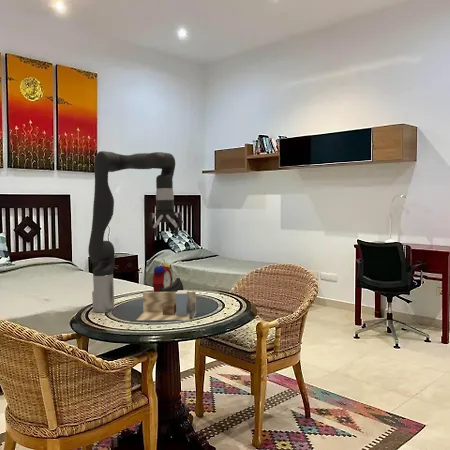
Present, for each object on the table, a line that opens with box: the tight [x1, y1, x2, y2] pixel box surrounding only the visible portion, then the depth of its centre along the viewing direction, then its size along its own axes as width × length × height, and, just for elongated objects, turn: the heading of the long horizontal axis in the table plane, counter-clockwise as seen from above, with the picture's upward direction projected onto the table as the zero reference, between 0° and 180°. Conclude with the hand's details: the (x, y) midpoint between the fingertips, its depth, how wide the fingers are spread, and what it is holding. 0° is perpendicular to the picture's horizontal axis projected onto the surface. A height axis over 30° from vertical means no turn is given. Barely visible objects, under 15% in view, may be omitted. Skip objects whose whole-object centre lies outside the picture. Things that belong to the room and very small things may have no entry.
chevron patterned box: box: [135, 291, 197, 323], centre depth 197 cm, size 24×15×10 cm, turn 87°
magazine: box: [158, 277, 185, 292], centre depth 223 cm, size 17×3×30 cm
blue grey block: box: [176, 289, 189, 316], centre depth 198 cm, size 5×7×10 cm, turn 177°
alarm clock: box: [150, 258, 173, 292], centre depth 247 cm, size 15×9×20 cm, turn 167°
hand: (166, 236), depth 193 cm, fingers open, 8 cm apart
